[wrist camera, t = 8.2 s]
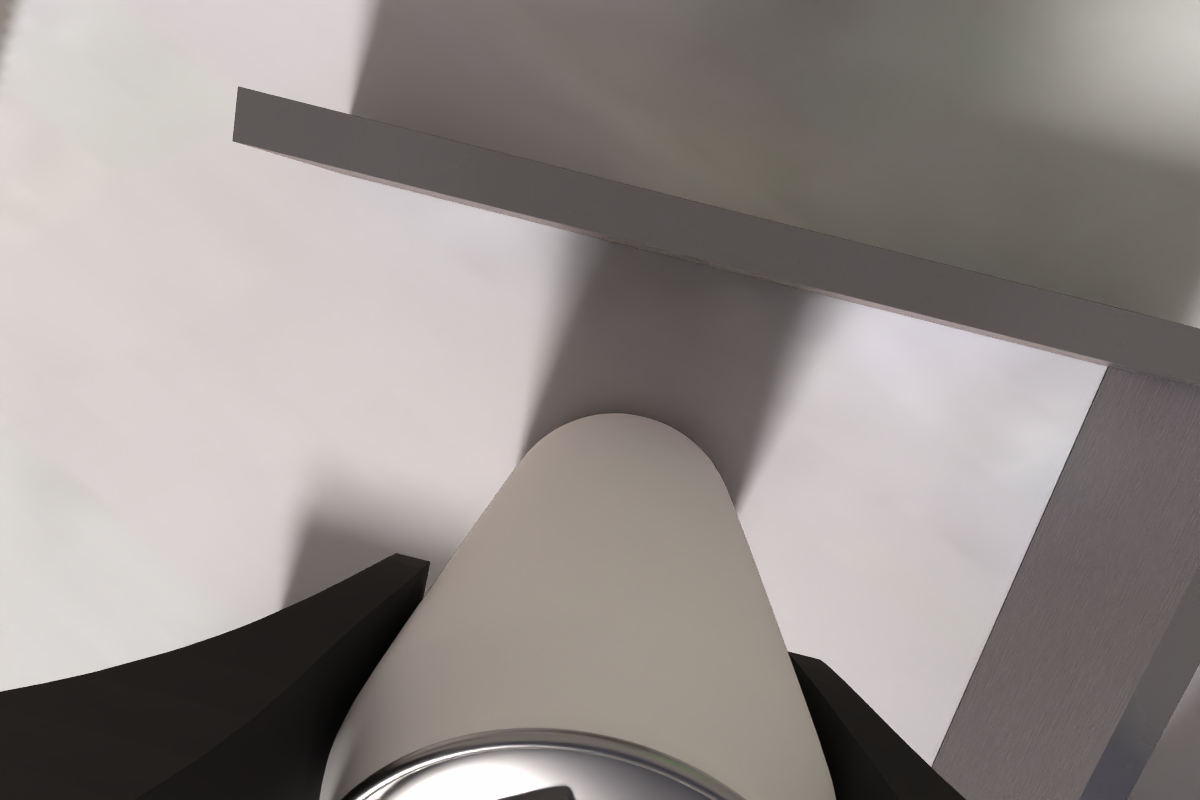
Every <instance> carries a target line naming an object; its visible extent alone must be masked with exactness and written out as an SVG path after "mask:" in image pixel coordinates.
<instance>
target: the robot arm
mask: <svg viewBox="0 0 1200 800" xmlns="http://www.w3.org/2000/svg"><path fill="white" fill-rule="evenodd" d="M429 566H430V562H429V561H425V560H421V559H417V558H413V557H409V556H405V555H401V554H397V553H396V554H394V555H392V556H390V557H388V558H386V559H384V560H382V561H380V562H378V563H376V564H374V565H372V566H371V567H369V568H367V569H365V570H363V571H361V572H359V573H357V574H355V575H353V576H352V577H350V578H348V579H346V580H344V581H342V582H340V583H338V584H336V585H334V586H332V587H330V588H328V589H326V590H324V591H322V592H320V593H318V594H316V595H314V596H312V597H310V598H307V599H305V600H303V601H301V602H298V603H296V604H294V605H292V606H289V607H287V608H285V609H283V610H280V611H278V612H276V613H273V614H271V615H269V616H267V617H264V618H262V619H260V620H258V621H255V622H253V623H250V624H248V625H245V626H243V627H240V628H237V629H235V630H232V631H229V632H227V633H224V634H221V635H218V636H216V637H213V638H210V639H207V640H204V641H201V642H198V643H195V644H192V645H189V646H186V647H183V648H180V649H177V650H173V651H170V652H167V653H163V654H159V655H156V656H152V657H148V658H145V659H141V660H137V661H134V662H130V663H126V664H123V665H119V666H115V667H112V668H108V669H104V670H101V671H97V672H93V673H88V674H84V675H80V676H75V677H71V678H66V679H62V680H57V681H52V682H48V683H43V684H38V685H33V686H28V687H23V688H17V689H12V690H7V691H2V692H0V800H320V793H321V787H322V782H323V777H324V773H325V769H326V764H327V761H328V757H329V754H330V751H331V748H332V746H333V743H334V740H335V738H336V736H337V733H338V731H339V729H340V727H341V725H342V723H343V721H344V720H345V718H346V716H347V714H348V712H349V710H350V708H351V706H352V704H353V703H354V701H355V699H356V697H357V696H358V694H359V693H360V691H361V690H362V688H363V687H364V685H365V683H366V682H367V680H368V679H369V677H370V676H371V674H372V673H373V671H374V669H375V668H376V666H377V665H378V663H379V662H380V660H381V659H382V657H383V656H384V654H385V653H386V652H387V650H388V649H389V647H390V646H391V644H392V643H393V641H394V640H395V638H396V637H397V635H398V634H399V632H400V631H401V630H402V628H403V627H404V625H405V624H406V622H407V621H408V619H409V618H410V616H411V615H412V614H413V612H414V611H415V609H416V608H417V606H418V605H419V604H420V602H421V601H422V599H423V596H424V591H425V586H426V581H427V576H428V571H429ZM788 654H789V657H790V660H791V662H792V665H793V668H794V671H795V673H796V676H797V679H798V682H799V684H800V687H801V690H802V693H803V696H804V698H805V701H806V704H807V707H808V710H809V713H810V715H811V718H812V721H813V724H814V727H815V730H816V732H817V735H818V738H819V741H820V744H821V748H822V751H823V754H824V757H825V760H826V763H827V766H828V769H829V772H830V776H831V779H832V783H833V787H834V792H835V796H836V800H966V799H965V798H964V797H963V796H962V795H961V794H960V793H958V792H957V791H956V790H955V789H954V788H953V787H952V786H951V785H950V784H949V783H948V782H946V781H945V780H944V779H943V778H942V777H941V776H940V775H939V774H938V773H937V772H936V771H935V770H934V769H933V768H931V767H930V766H929V765H928V764H927V763H926V762H925V761H924V760H923V759H922V758H921V757H920V756H919V755H918V754H917V753H916V752H915V751H914V750H913V749H912V748H911V747H910V746H909V745H908V744H907V743H906V742H905V741H904V740H903V739H902V738H901V737H900V736H899V735H898V734H897V733H896V732H895V731H894V730H893V729H892V728H891V727H890V726H889V725H888V724H887V723H886V722H885V721H884V720H883V719H882V718H881V717H880V716H879V715H878V714H877V713H876V712H875V711H874V710H873V709H872V708H871V707H870V706H869V705H868V704H867V703H866V702H865V701H864V700H863V699H862V698H861V697H860V696H859V695H858V694H857V693H856V692H855V691H854V690H853V689H852V688H851V687H850V686H849V685H848V684H847V683H846V682H845V681H844V680H843V679H842V678H841V677H839V676H838V675H837V674H836V673H835V672H834V671H833V670H832V669H831V668H830V667H829V666H827V665H826V664H825V663H824V662H823V661H821V660H819V659H815V658H811V657H807V656H804V655H800V654H796V653H792V652H788Z"/></svg>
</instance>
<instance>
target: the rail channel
mask: <svg viewBox="0 0 1200 800" xmlns="http://www.w3.org/2000/svg"><path fill="white" fill-rule="evenodd" d="M233 141H234V142H237V143H240V144H244V145H247V146H251V147H254V148H257V149H261V150H264V151H267V152H271V153H274V154H277V155H281V156H284V157H287V158H291V159H294V160H298V161H301V162H304V163H308V164H311V165H314V166H318V167H321V168H324V169H328V170H331V171H334V172H338V173H341V174H345V175H349V176H353V177H357V178H361V179H365V180H369V181H373V182H377V183H381V184H385V185H389V186H393V187H397V188H401V189H405V190H409V191H413V192H417V193H421V194H425V195H429V196H433V197H437V198H441V199H445V200H449V201H453V202H457V203H461V204H465V205H469V206H473V207H477V208H481V209H485V210H488V211H492V212H496V213H500V214H504V215H508V216H512V217H516V218H520V219H524V220H528V221H532V222H536V223H540V224H544V225H548V226H552V227H556V228H560V229H564V230H568V231H572V232H576V233H580V234H584V235H588V236H592V237H596V238H600V239H604V240H608V241H612V242H616V243H620V244H624V245H628V246H631V247H635V248H639V249H643V250H647V251H651V252H655V253H659V254H663V255H667V256H671V257H675V258H679V259H683V260H687V261H691V262H695V263H699V264H703V265H707V266H711V267H715V268H719V269H723V270H727V271H731V272H735V273H739V274H743V275H747V276H751V277H755V278H759V279H763V280H767V281H771V282H774V283H778V284H782V285H786V286H790V287H794V288H798V289H802V290H806V291H810V292H814V293H818V294H822V295H826V296H830V297H834V298H838V299H842V300H846V301H850V302H854V303H858V304H862V305H866V306H870V307H874V308H878V309H882V310H886V311H890V312H894V313H898V314H902V315H906V316H910V317H914V318H917V319H921V320H925V321H929V322H933V323H937V324H941V325H945V326H949V327H953V328H957V329H961V330H965V331H969V332H973V333H977V334H981V335H985V336H989V337H993V338H997V339H1001V340H1005V341H1009V342H1013V343H1017V344H1021V345H1025V346H1029V347H1033V348H1037V349H1041V350H1045V351H1049V352H1053V353H1057V354H1061V355H1064V356H1068V357H1072V358H1076V359H1080V360H1084V361H1088V362H1092V363H1096V364H1100V365H1104V366H1108V367H1109V368H1108V370H1107V372H1106V374H1105V377H1104V379H1103V381H1102V384H1101V386H1100V388H1099V390H1098V393H1097V395H1096V397H1095V399H1094V402H1093V404H1092V406H1091V408H1090V411H1089V413H1088V415H1087V417H1086V420H1085V422H1084V424H1083V427H1082V429H1081V431H1080V433H1079V436H1078V438H1077V440H1076V442H1075V445H1074V447H1073V449H1072V451H1071V454H1070V456H1069V458H1068V461H1067V463H1066V465H1065V467H1064V470H1063V472H1062V474H1061V476H1060V479H1059V481H1058V483H1057V485H1056V488H1055V490H1054V492H1053V495H1052V497H1051V499H1050V501H1049V504H1048V506H1047V508H1046V510H1045V513H1044V515H1043V517H1042V519H1041V522H1040V524H1039V526H1038V529H1037V531H1036V533H1035V535H1034V538H1033V540H1032V542H1031V544H1030V547H1029V549H1028V551H1027V553H1026V556H1025V558H1024V560H1023V563H1022V565H1021V567H1020V569H1019V572H1018V574H1017V576H1016V578H1015V581H1014V583H1013V585H1012V587H1011V590H1010V592H1009V594H1008V597H1007V599H1006V601H1005V603H1004V606H1003V608H1002V610H1001V612H1000V615H999V617H998V619H997V621H996V624H995V626H994V628H993V631H992V633H991V635H990V637H989V640H988V642H987V644H986V646H985V649H984V651H983V653H982V655H981V658H980V660H979V662H978V665H977V667H976V669H975V671H974V674H973V676H972V678H971V680H970V683H969V685H968V687H967V689H966V692H965V694H964V696H963V699H962V701H961V703H960V705H959V708H958V710H957V712H956V714H955V717H954V719H953V721H952V723H951V726H950V728H949V730H948V732H947V735H946V737H945V739H944V742H943V744H942V746H941V748H940V751H939V753H938V755H937V757H936V760H935V762H934V764H933V766H932V768H933V769H934V770H935V771H936V772H937V773H938V774H939V775H940V776H941V777H942V778H943V779H944V780H945V781H946V782H948V783H949V784H950V785H951V786H952V787H953V788H954V789H955V790H956V791H957V792H958V793H960V794H961V795H962V796H963V797H964V798H965V799H966V800H1127V798H1128V796H1129V794H1130V793H1131V791H1132V789H1133V787H1134V785H1135V783H1136V781H1137V780H1138V778H1139V776H1140V774H1141V772H1142V770H1143V768H1144V766H1145V765H1146V763H1147V761H1148V759H1149V757H1150V755H1151V753H1152V752H1153V750H1154V748H1155V746H1156V744H1157V742H1158V740H1159V738H1160V737H1161V735H1162V733H1163V731H1164V729H1165V727H1166V725H1167V724H1168V722H1169V720H1170V718H1171V716H1172V714H1173V712H1174V710H1175V709H1176V707H1177V705H1178V703H1179V701H1180V699H1181V697H1182V696H1183V694H1184V692H1185V690H1186V688H1187V686H1188V684H1189V682H1190V681H1191V679H1192V677H1193V675H1194V673H1195V671H1196V669H1197V668H1198V666H1199V664H1200V329H1199V328H1195V327H1191V326H1187V325H1183V324H1179V323H1175V322H1171V321H1167V320H1163V319H1159V318H1155V317H1151V316H1147V315H1143V314H1139V313H1135V312H1131V311H1127V310H1123V309H1119V308H1115V307H1111V306H1107V305H1103V304H1099V303H1095V302H1091V301H1087V300H1083V299H1079V298H1076V297H1072V296H1068V295H1064V294H1060V293H1056V292H1052V291H1048V290H1044V289H1040V288H1036V287H1032V286H1028V285H1024V284H1020V283H1016V282H1012V281H1008V280H1004V279H1000V278H996V277H992V276H988V275H984V274H980V273H976V272H972V271H968V270H964V269H960V268H956V267H953V266H949V265H945V264H941V263H937V262H933V261H929V260H925V259H921V258H917V257H913V256H909V255H905V254H901V253H897V252H893V251H889V250H885V249H881V248H877V247H873V246H869V245H865V244H861V243H857V242H853V241H849V240H845V239H841V238H837V237H833V236H830V235H826V234H822V233H818V232H814V231H810V230H806V229H802V228H798V227H794V226H790V225H786V224H782V223H778V222H774V221H770V220H766V219H762V218H758V217H754V216H750V215H746V214H742V213H738V212H734V211H730V210H726V209H722V208H718V207H714V206H710V205H707V204H703V203H699V202H695V201H691V200H687V199H683V198H679V197H675V196H671V195H667V194H663V193H659V192H655V191H651V190H647V189H643V188H639V187H635V186H631V185H627V184H623V183H619V182H615V181H611V180H607V179H603V178H599V177H595V176H591V175H588V174H584V173H580V172H576V171H572V170H568V169H564V168H560V167H556V166H552V165H548V164H544V163H540V162H536V161H532V160H528V159H524V158H520V157H516V156H512V155H508V154H504V153H500V152H496V151H492V150H488V149H484V148H480V147H476V146H472V145H468V144H465V143H461V142H457V141H453V140H449V139H445V138H441V137H437V136H433V135H429V134H425V133H421V132H417V131H413V130H409V129H405V128H401V127H397V126H393V125H389V124H385V123H381V122H377V121H373V120H369V119H365V118H361V117H357V116H353V115H349V114H345V113H342V112H338V111H334V110H330V109H326V108H322V107H318V106H314V105H310V104H306V103H302V102H298V101H294V100H290V99H286V98H282V97H278V96H274V95H270V94H266V93H262V92H258V91H254V90H250V89H246V88H242V87H238V92H237V102H236V112H235V122H234V132H233Z"/></svg>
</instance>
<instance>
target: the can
mask: <svg viewBox="0 0 1200 800" xmlns="http://www.w3.org/2000/svg"><path fill="white" fill-rule="evenodd" d="M320 800H836V796H835V792H834V787H833V783H832V779H831V776H830V772H829V769H828V766H827V763H826V760H825V757H824V754H823V751H822V748H821V744H820V741H819V738H818V735H817V732H816V730H815V727H814V724H813V721H812V718H811V715H810V713H809V710H808V707H807V704H806V701H805V698H804V696H803V693H802V690H801V687H800V684H799V682H798V679H797V676H796V673H795V671H794V668H793V665H792V662H791V660H790V657H789V654H788V651H787V649H786V646H785V643H784V640H783V638H782V635H781V632H780V629H779V627H778V624H777V621H776V618H775V616H774V613H773V610H772V607H771V605H770V602H769V599H768V597H767V594H766V591H765V588H764V586H763V583H762V580H761V578H760V575H759V572H758V569H757V567H756V564H755V561H754V559H753V556H752V553H751V551H750V548H749V545H748V543H747V540H746V537H745V535H744V532H743V529H742V527H741V524H740V521H739V519H738V516H737V513H736V511H735V508H734V506H733V503H732V501H731V498H730V496H729V493H728V491H727V488H726V486H725V484H724V482H723V480H722V478H721V476H720V474H719V472H718V471H717V469H716V468H715V466H714V465H713V463H712V462H711V460H710V459H709V458H708V457H707V455H706V454H705V453H704V452H703V451H702V450H701V449H700V448H699V447H698V446H697V445H696V444H695V443H694V442H693V441H691V440H690V439H689V438H688V437H686V436H685V435H683V434H682V433H680V432H679V431H677V430H676V429H674V428H672V427H670V426H668V425H666V424H664V423H661V422H659V421H656V420H653V419H650V418H647V417H643V416H638V415H632V414H621V413H608V414H598V415H592V416H587V417H583V418H580V419H577V420H574V421H571V422H569V423H567V424H565V425H562V426H561V427H559V428H557V429H555V430H553V431H552V432H550V433H549V434H548V435H546V436H545V437H543V438H542V439H541V440H540V441H539V442H538V443H536V444H535V445H534V446H533V447H532V448H531V449H530V450H529V451H528V453H527V454H526V455H525V456H524V457H523V459H522V460H521V461H520V462H519V464H518V465H517V466H516V468H515V469H514V470H513V472H512V473H511V474H510V476H509V477H508V479H507V480H506V481H505V483H504V484H503V486H502V487H501V488H500V490H499V491H498V493H497V494H496V495H495V497H494V498H493V500H492V501H491V502H490V504H489V505H488V507H487V508H486V509H485V511H484V512H483V514H482V515H481V516H480V518H479V519H478V521H477V522H476V524H475V525H474V526H473V528H472V529H471V531H470V532H469V533H468V535H467V536H466V538H465V539H464V541H463V542H462V543H461V545H460V546H459V548H458V549H457V551H456V552H455V553H454V555H453V556H452V558H451V559H450V561H449V562H448V563H447V565H446V566H445V568H444V569H443V571H442V572H441V573H440V575H439V576H438V578H437V579H436V581H435V582H434V583H433V585H432V586H431V588H430V589H429V591H428V592H427V593H426V595H425V596H424V598H423V599H422V601H421V602H420V604H419V605H418V606H417V608H416V609H415V611H414V612H413V614H412V615H411V616H410V618H409V619H408V621H407V622H406V624H405V625H404V627H403V628H402V630H401V631H400V632H399V634H398V635H397V637H396V638H395V640H394V641H393V643H392V644H391V646H390V647H389V649H388V650H387V652H386V653H385V654H384V656H383V657H382V659H381V660H380V662H379V663H378V665H377V666H376V668H375V669H374V671H373V673H372V674H371V676H370V677H369V679H368V680H367V682H366V683H365V685H364V687H363V688H362V690H361V691H360V693H359V694H358V696H357V697H356V699H355V701H354V703H353V704H352V706H351V708H350V710H349V712H348V714H347V716H346V718H345V720H344V721H343V723H342V725H341V727H340V729H339V731H338V733H337V736H336V738H335V740H334V743H333V746H332V748H331V751H330V754H329V757H328V761H327V764H326V769H325V773H324V777H323V782H322V787H321V793H320Z"/></svg>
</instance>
